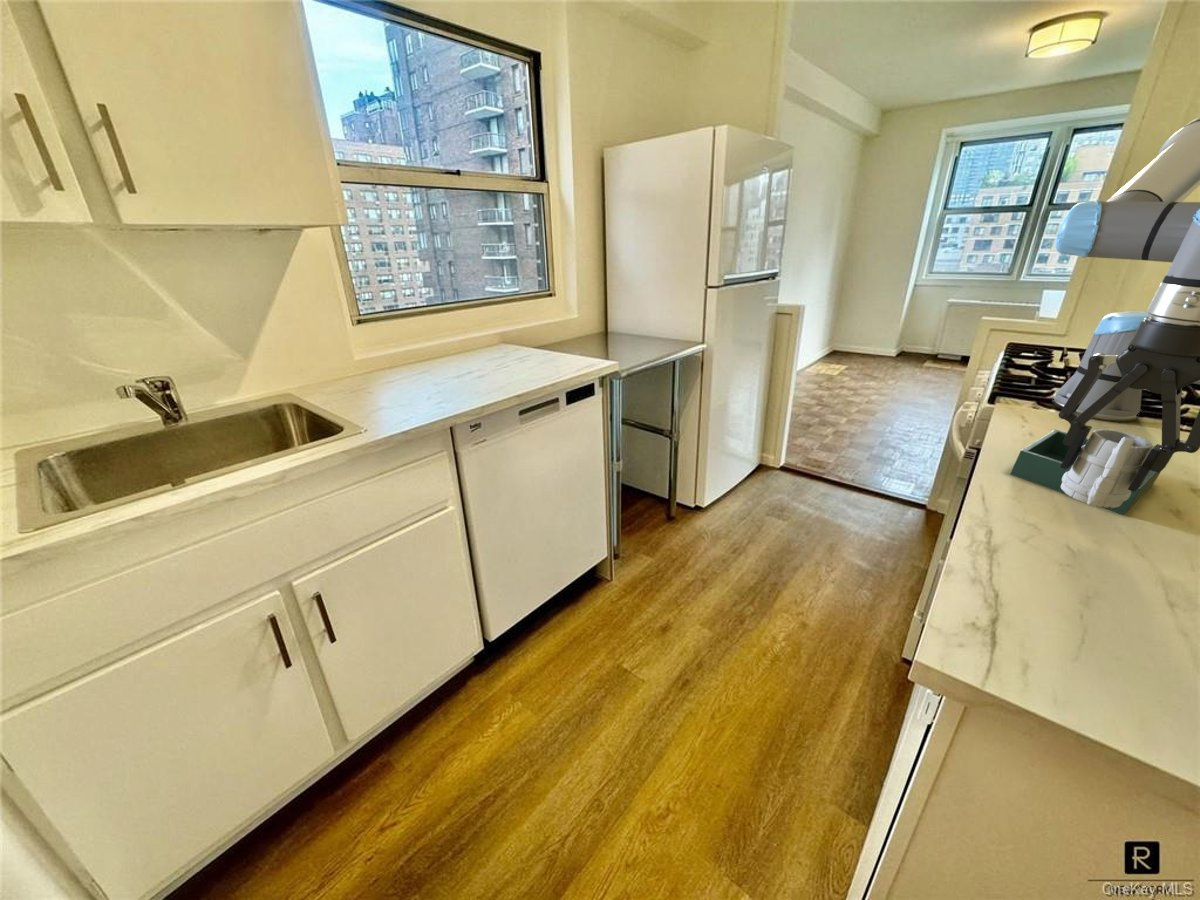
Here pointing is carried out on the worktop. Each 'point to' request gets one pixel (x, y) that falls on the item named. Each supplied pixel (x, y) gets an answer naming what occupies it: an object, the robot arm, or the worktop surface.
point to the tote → (1045, 469)
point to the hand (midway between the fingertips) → (1098, 476)
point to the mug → (1106, 468)
